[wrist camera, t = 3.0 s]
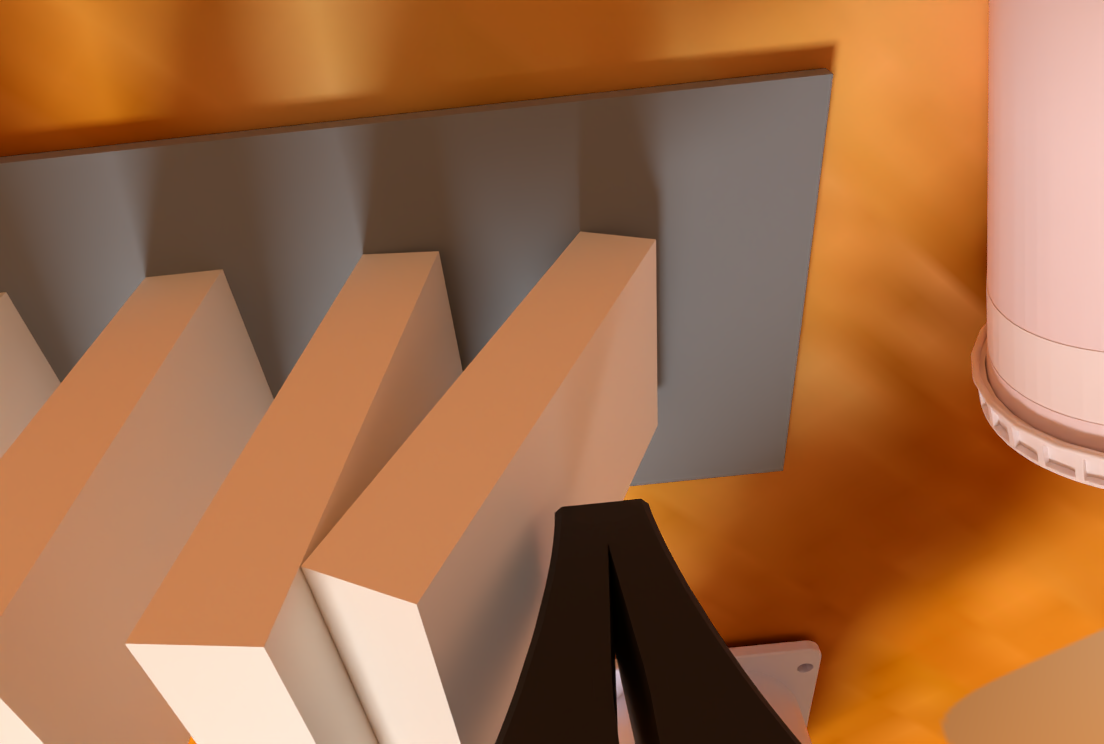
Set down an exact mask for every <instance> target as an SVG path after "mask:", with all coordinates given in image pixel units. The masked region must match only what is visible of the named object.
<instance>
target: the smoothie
mask: <svg viewBox="0 0 1104 744" xmlns="http://www.w3.org/2000/svg"><path fill="white" fill-rule="evenodd" d="M986 300H987V322H986V324H985V325H984V326H983V327H982V328H981V329H980V332H979V334H978V337H977V339H976V342H975V345H974V347H973V350H972V352H971V363H972V376H973V381H974V383H975V385H976V386H977V388H978V391H979V398H980V403H981V407H982V410H983V412H984V414H985V417H986V419H987V420H988V422H989V424H990V425H991V427H992V428H993V429H994V431H995V432H996V433H997V434H998V436H999V437H1001V438H1002V439H1003V440H1004V441H1005V442H1006V443H1007V444H1008V445H1009V446H1010V447H1011V448H1013V449H1014V450H1015V451H1016V452H1018V453H1019V454H1021V455H1022V456H1024V457H1025V458H1027V459H1028V460H1030V461H1032V462H1033V463H1035V464H1037V465H1039V466H1041V467H1043V468H1045V469H1047V470H1049V471H1051V472H1054V473H1056V474H1058V475H1061V476H1063V477H1066V478H1069V479H1072V480H1074V481H1077V482H1080V483H1084V484H1087V485H1091V486H1094V487H1098V488H1102V489H1104V0H989V62H988V208H987V279H986Z"/></svg>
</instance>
